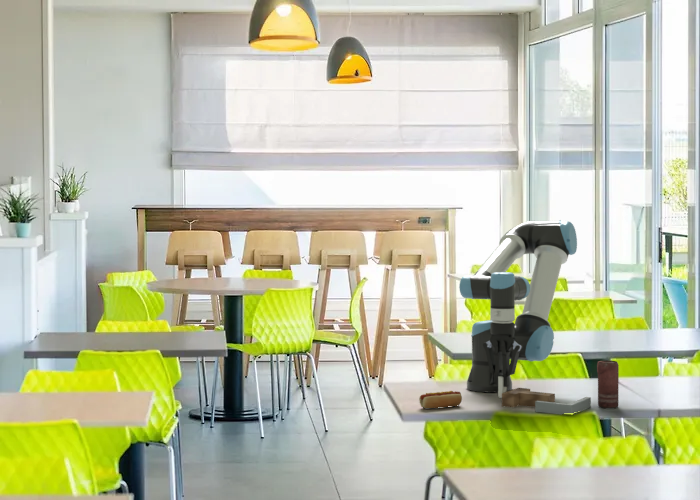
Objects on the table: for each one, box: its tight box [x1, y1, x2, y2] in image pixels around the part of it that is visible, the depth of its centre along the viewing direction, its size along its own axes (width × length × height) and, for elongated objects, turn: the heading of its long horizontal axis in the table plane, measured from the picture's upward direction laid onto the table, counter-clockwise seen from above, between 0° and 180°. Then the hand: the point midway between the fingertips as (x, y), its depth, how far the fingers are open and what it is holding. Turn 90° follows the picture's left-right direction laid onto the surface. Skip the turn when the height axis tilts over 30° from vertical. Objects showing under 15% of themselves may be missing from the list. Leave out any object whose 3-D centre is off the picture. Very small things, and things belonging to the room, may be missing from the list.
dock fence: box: [534, 396, 592, 415], centre depth 322 cm, size 12×15×3 cm
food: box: [418, 390, 463, 409], centre depth 327 cm, size 14×6×5 cm, turn 114°
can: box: [596, 359, 620, 409], centre depth 325 cm, size 6×6×14 cm
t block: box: [501, 387, 556, 408], centre depth 329 cm, size 14×12×4 cm
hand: (502, 396), depth 334 cm, fingers closed
